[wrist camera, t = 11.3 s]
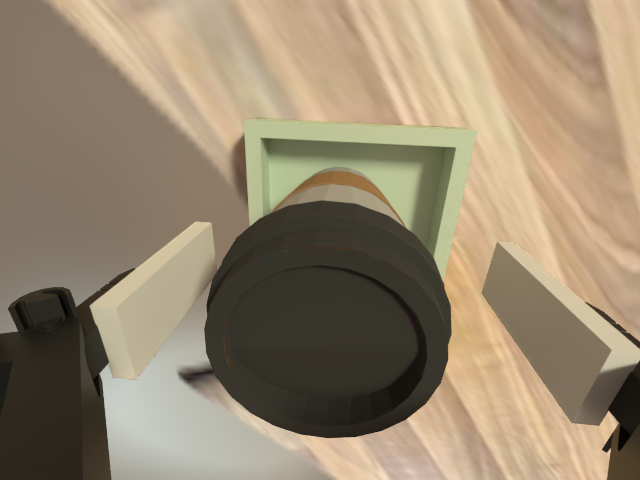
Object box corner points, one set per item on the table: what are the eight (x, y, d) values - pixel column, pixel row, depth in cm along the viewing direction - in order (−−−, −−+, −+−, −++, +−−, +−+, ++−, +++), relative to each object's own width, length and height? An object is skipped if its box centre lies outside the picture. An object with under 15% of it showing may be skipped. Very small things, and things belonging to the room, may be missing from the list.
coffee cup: (393, 258, 24) (451, 455, 10) (288, 259, 25) (214, 442, 11) (398, 148, 21) (490, 220, 7) (277, 153, 22) (155, 228, 8)
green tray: (257, 118, 22) (243, 119, 19) (460, 127, 21) (477, 130, 18) (265, 342, 30) (257, 366, 27) (413, 356, 29) (420, 382, 26)
